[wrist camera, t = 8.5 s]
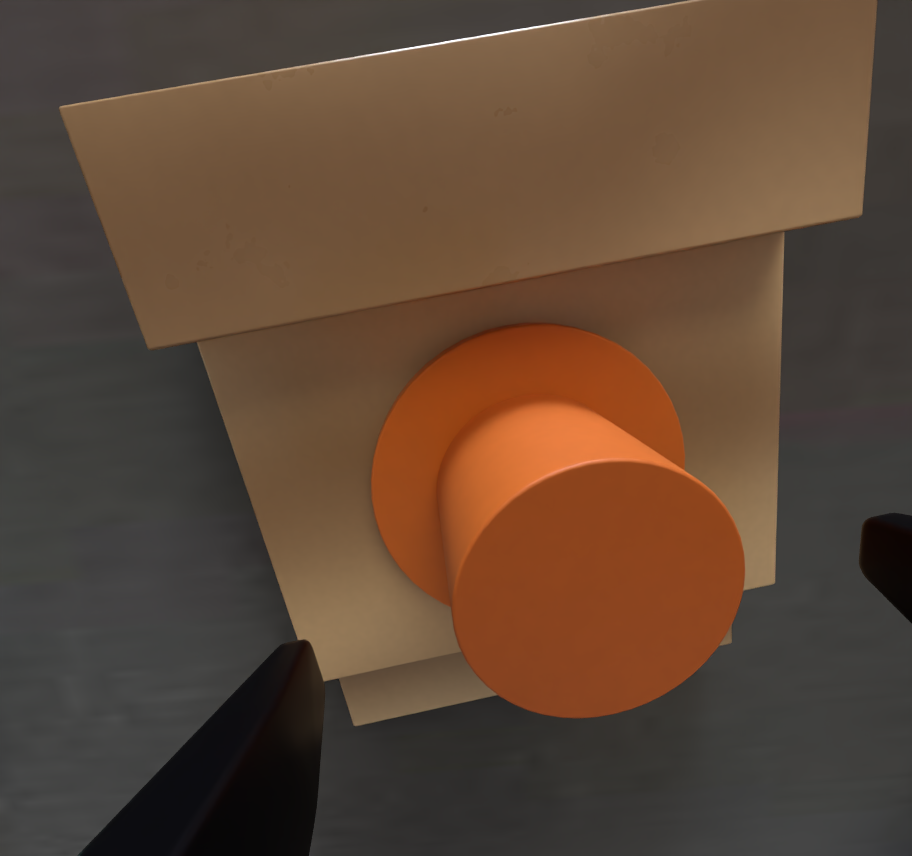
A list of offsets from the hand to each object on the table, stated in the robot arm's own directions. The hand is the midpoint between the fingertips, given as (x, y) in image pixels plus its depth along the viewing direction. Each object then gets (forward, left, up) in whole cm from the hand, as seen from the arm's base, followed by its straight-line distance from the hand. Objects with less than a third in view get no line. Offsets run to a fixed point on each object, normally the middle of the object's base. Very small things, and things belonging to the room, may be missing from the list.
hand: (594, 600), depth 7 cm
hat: (0, 0, -5) cm, 5 cm away
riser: (0, 0, -9) cm, 9 cm away
